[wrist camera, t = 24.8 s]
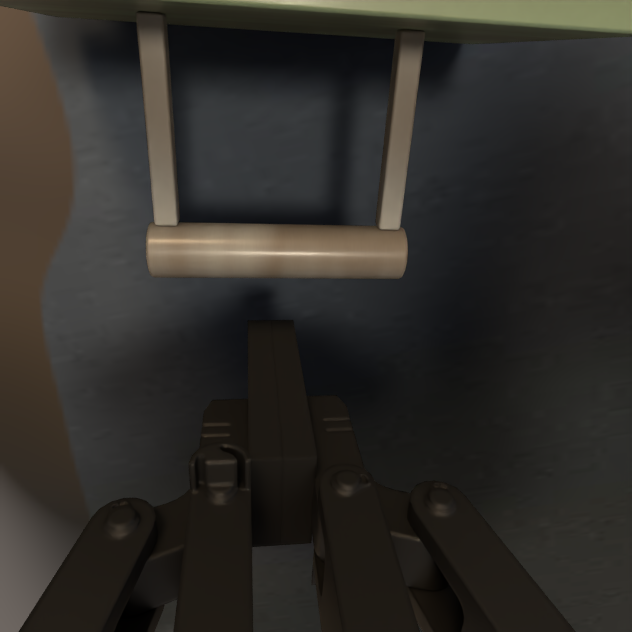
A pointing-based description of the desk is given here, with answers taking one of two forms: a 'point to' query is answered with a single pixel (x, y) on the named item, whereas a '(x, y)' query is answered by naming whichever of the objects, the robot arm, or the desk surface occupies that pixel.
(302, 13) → the drawer
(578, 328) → the desk surface
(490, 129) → the desk surface
